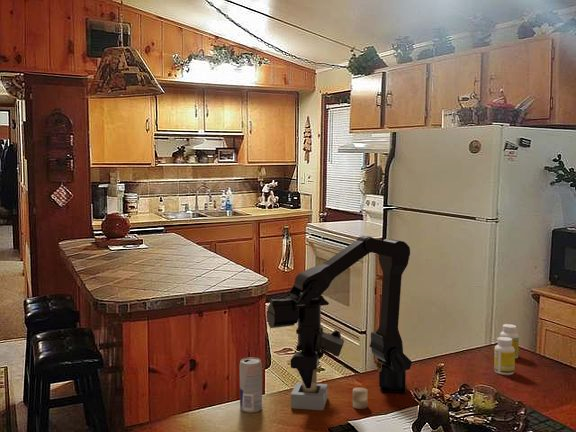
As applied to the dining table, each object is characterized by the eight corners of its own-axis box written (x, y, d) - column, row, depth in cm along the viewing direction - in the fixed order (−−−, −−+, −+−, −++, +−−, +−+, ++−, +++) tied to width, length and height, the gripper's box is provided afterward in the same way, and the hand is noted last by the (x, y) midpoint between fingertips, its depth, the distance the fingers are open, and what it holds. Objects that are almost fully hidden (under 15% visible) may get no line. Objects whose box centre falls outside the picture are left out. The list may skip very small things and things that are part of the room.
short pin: (368, 404, 140) (369, 388, 140) (365, 409, 137) (365, 393, 137) (354, 402, 141) (354, 386, 141) (350, 407, 138) (351, 391, 138)
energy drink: (250, 402, 142) (250, 355, 141) (266, 408, 139) (266, 360, 138) (235, 409, 138) (234, 361, 137) (251, 415, 134) (251, 365, 134)
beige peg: (303, 389, 143) (303, 363, 143) (317, 389, 143) (317, 364, 142) (301, 394, 140) (301, 368, 139) (315, 395, 139) (315, 369, 139)
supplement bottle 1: (516, 360, 172) (516, 328, 172) (497, 357, 175) (498, 326, 174) (519, 355, 177) (520, 324, 176) (501, 352, 180) (502, 322, 179)
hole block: (327, 397, 145) (327, 384, 144) (323, 410, 137) (323, 396, 137) (296, 395, 146) (296, 382, 146) (290, 408, 138) (290, 394, 138)
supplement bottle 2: (518, 372, 161) (519, 339, 161) (506, 376, 158) (507, 342, 158) (501, 367, 166) (502, 334, 165) (490, 371, 163) (490, 338, 162)
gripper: (337, 335, 129) (338, 402, 131) (345, 315, 148) (345, 374, 149) (289, 333, 132) (290, 398, 133) (303, 313, 150) (303, 371, 151)
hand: (309, 385), depth 141 cm, fingers closed on beige peg, 4 cm apart
